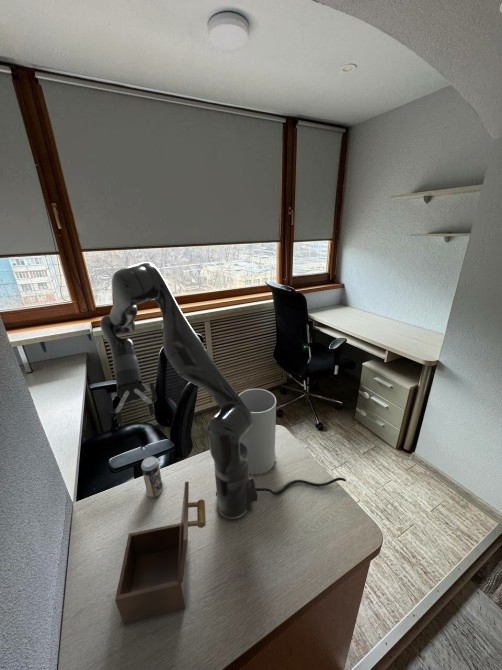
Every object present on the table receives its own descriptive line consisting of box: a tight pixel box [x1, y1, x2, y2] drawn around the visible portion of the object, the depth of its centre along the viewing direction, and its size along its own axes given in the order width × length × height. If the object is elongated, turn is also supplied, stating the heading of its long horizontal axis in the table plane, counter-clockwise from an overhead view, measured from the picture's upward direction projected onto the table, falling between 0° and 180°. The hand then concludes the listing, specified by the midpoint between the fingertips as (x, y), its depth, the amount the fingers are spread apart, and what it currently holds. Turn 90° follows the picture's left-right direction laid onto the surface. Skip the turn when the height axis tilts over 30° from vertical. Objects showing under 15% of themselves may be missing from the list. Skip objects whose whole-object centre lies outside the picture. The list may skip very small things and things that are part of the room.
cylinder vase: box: [238, 388, 277, 475], centre depth 88 cm, size 12×12×25 cm
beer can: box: [140, 455, 164, 498], centre depth 80 cm, size 5×5×12 cm
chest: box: [114, 522, 187, 624], centre depth 60 cm, size 12×12×9 cm
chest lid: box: [179, 481, 207, 583], centre depth 58 cm, size 13×12×4 cm
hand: (137, 420), depth 84 cm, fingers open, 8 cm apart
